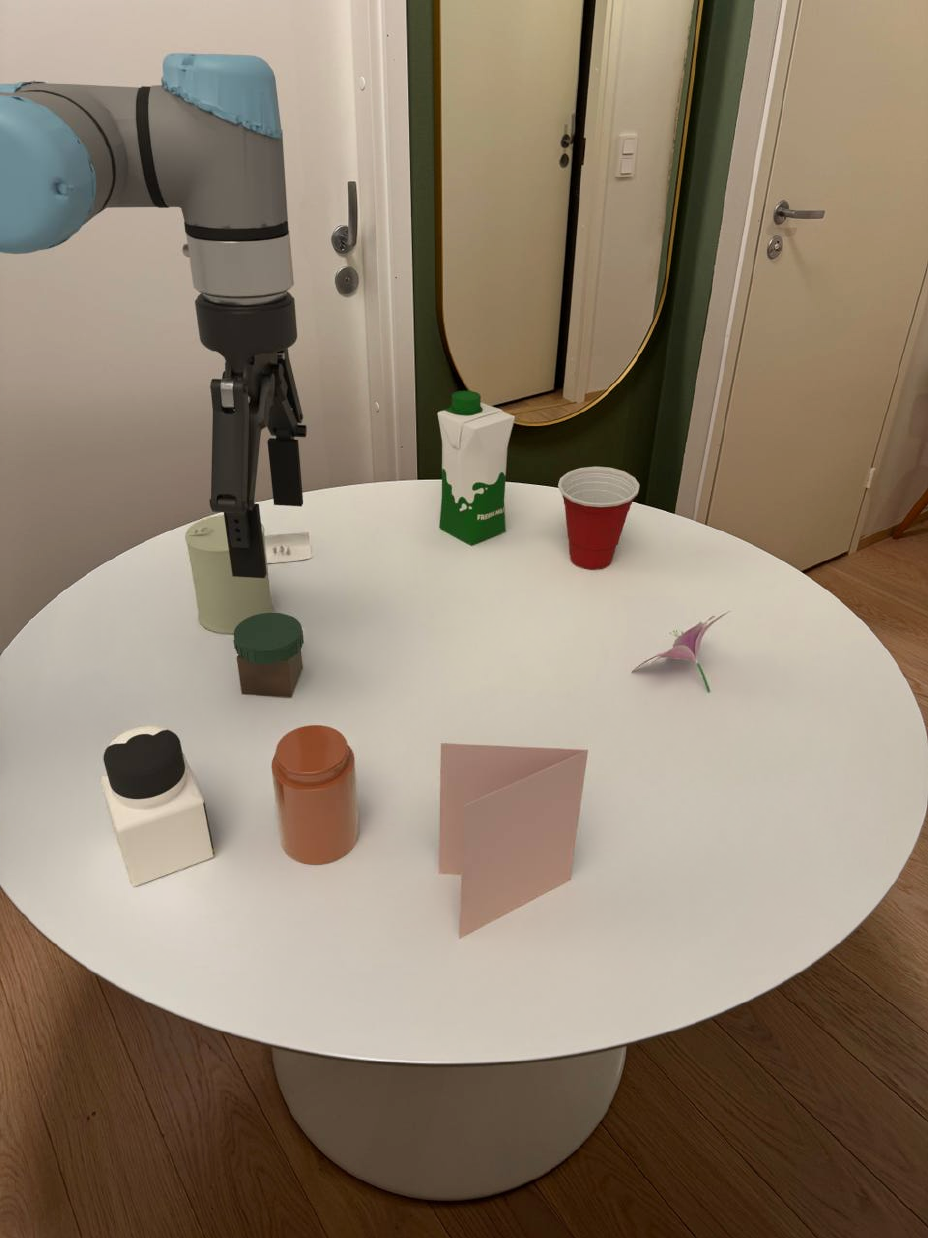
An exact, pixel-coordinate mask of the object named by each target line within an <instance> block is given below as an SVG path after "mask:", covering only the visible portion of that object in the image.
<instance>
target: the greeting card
mask: <svg viewBox="0 0 928 1238" xmlns="http://www.w3.org/2000/svg"><path fill="white" fill-rule="evenodd" d="M588 753H589V749H582V748H581V749H579V748H561V747H559V748H556V747H535V746H512V745H494V744H492V745H491V744H489V745H488V744H471V743H470V744H468V743H449V742H448V743H447V742H441V743H440V762H439V763H440V764H439V765H440V769H439V770H440V771H439V773H440V775H439V830H438V831H439V834H438V835H439V836H438V838H439V839H438V841H439V842H438V843H439V845H438V874H439V875H440V874H441V875H442V874H443V875H461V878H460V880H461V881H460V903H459V904H460V906H459V932H458V933H459V934H458V935H459V936H458V937H459V940H460V939H462V938H463V937H466V936H468V935H470V934H471V933H474V932H475V931H477V930H479V929H481V928H483V927H484V926H486V925H488V924H490V923H492V922H493V921H495V920H497V919H499V918H501V917H504V916H505V915H507V914H509V913H511V912H513V911H515V910H517V909H518V908H520V907H522V906H524V905H525V904H527V903H529V902H531V901H533V900H536V899H538V898H539V897H541V896H542V895H543V896H544V894H546V893H548V892H550V891H552V890H554V889H556V888H558V887H559V886H561V885H563V884H565V883H566V882H569V881H570V880H571V875H572V870H573V869H572V868H573V862H574V855H575V847H576V840H577V834H578V833H577V832H578V827H579V826H578V825H579V820H580V819H579V818H580V811H581V803H582V797H583V790H584V783H585V775H586V769H587V768H586V767H587V762H588V761H587V760H588Z"/></svg>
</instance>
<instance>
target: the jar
mask: <svg viewBox="0 0 928 1238" xmlns="http://www.w3.org/2000/svg"><path fill="white" fill-rule="evenodd" d="M270 766H271V767H270V768H271V774H272V775H271V776H272V782H273V791H274V798H275V806H276V813H277V821H278V822H277V823H278V828H279V838H280V844H281V847H282V849H283V851H284V852H285V854H287V855H288V856H289V857H290V858H291V859H292V860H294V861H297V862H299V863H301V864H306V865H313V866H314V865H315V866H316V865H317V866H318V865H319V866H320V865H326V864H330V863H333V862H335V861H338V860H340V859H341V858H344V857H345V856H347V854H348V853H350V852H351V851H352V850H353V848H354V847H355V845H356V844H357V841H358V839H359V833H360V832H359V815H358V798H357V797H358V796H357V795H358V794H357V779H356V777H357V776H356V761H355V754H354V751H353V750H352V748H351V746H350V745H349V744H348V740H347V738H346V737H345V736H344V734H343V733H342V732H340V731H339V730H338V729H335V728H334V727H331V726H328V725H323V724H322V725H321V724H309V725H304V726H300V727H296V728H295V729H293V730H291V731H288V732H287V733H286V734H285V735H284V736H282V738H281V739H279V741H278V743H277V745H276V748H275V752H274V755H273V758H272V760H271V765H270Z"/></svg>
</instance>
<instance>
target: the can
mask: <svg viewBox="0 0 928 1238" xmlns="http://www.w3.org/2000/svg"><path fill="white" fill-rule="evenodd" d="M261 527H262V536H263V545H264V554H265V562H266V571H267V574H266V576H265V578H249V577H233V576H232V569H231V562H230V555H229V547H228V540H227V533H226V526H225V518H224V514H221V515H215V516H210V517H207V518H204V519H201V520H199V521H197V522H195V523H193V524H192V525H190V527H188V528H187V530H186V531H185V535H184V539H185V542H186V546H187V551H188V552H187V553H188V556H189V557H188V558H189V563H190V568H191V573H192V574H191V575H192V580H193V585H194V586H193V587H194V591H195V597H196V605H197V612H198V613H197V619H198V621H199V623H200V625H201V626H202V627H203V628H204V629H206V630H209V631H211V632H213V633H218V634H224V635H233V633H234V630H235V628H236V626H237V625H238V624H239V623H240V622H242V621H243V620H245V619H247V618H249V617H251V616H254V615H257V614H262V613H275V609H274V605H273V599H272V594H271V585H270V578H269V569H268V563H267V558H266V548H265V537H264V536H265V527H264V525H263V524H262V523H261Z"/></svg>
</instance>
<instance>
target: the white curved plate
mask: <svg viewBox="0 0 928 1238" xmlns="http://www.w3.org/2000/svg"><path fill="white" fill-rule="evenodd" d="M264 537H265V548H266V558H267V564H273V563H274V564H276V563H286V562H287V563H288V562H296V561H297V562H298V561H304V560H310V559H311V558H312V557H313V556H312V550H311V541H310V540H311V539H310V532H308V531H307V532H291V533H281V534H278V533H277V534H268V535H266V534H265V535H264Z"/></svg>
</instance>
